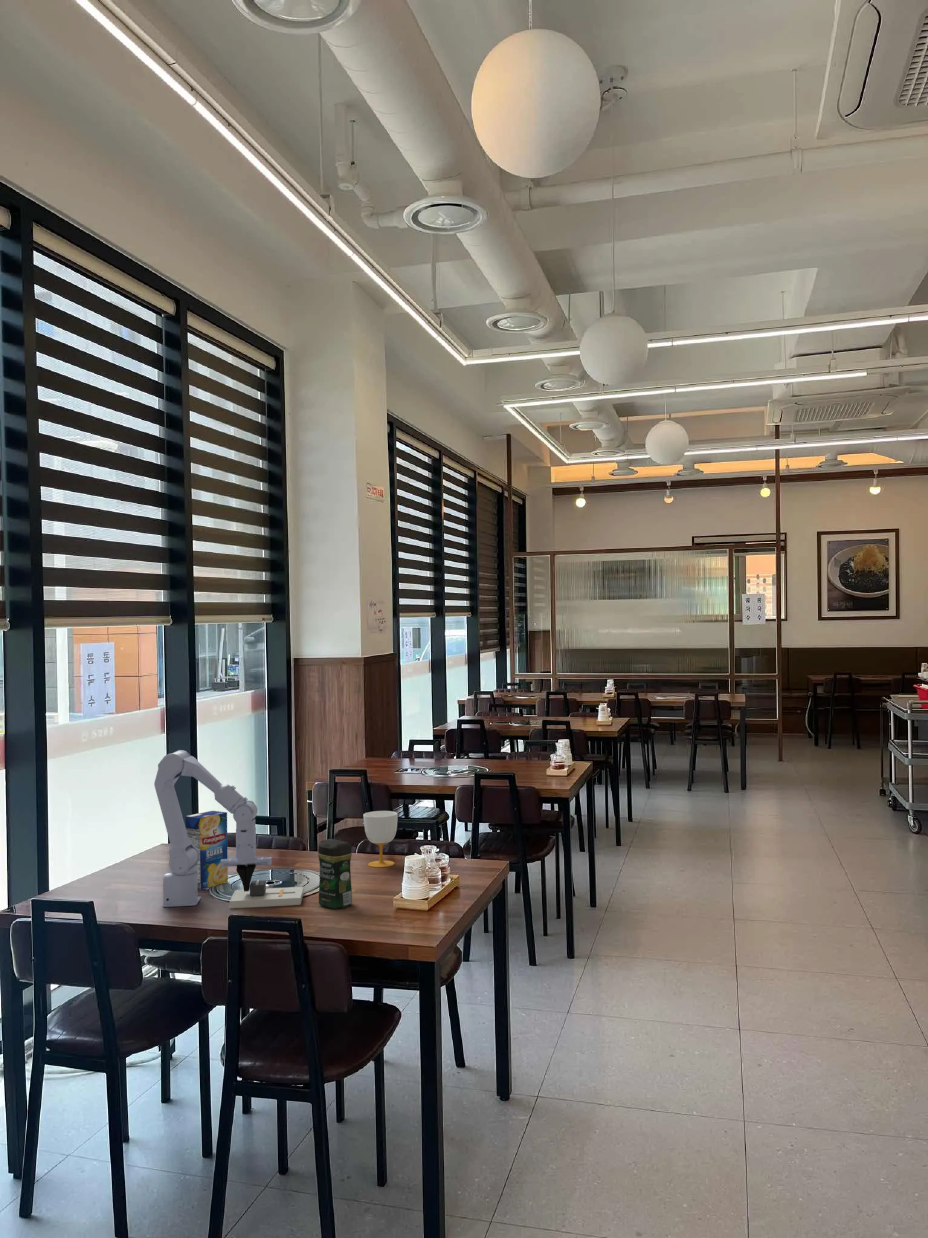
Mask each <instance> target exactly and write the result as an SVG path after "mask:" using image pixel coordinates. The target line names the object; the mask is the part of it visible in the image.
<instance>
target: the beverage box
mask: <svg viewBox="0 0 928 1238" xmlns="http://www.w3.org/2000/svg"><path fill="white" fill-rule="evenodd" d="M184 820H185V821H184V824H185V827H186V831H187V834H188V837H189V838H190V839H191V840H192V842H193V845H194V847H195V848H196V849H197V850H198V852H199V861H198V862H197V864H196V868H197V891H202V890H205V889H208V888H212V887H215V886H219V885H223V884H225V883H224V882H226V883H228V882H229V879H228V878H229V876H228V875H229V873H228V872H229V868H228V867H221V865H220V861H221V859H229V857H228V811H227V812H226V811H219V810H209V811H204V812H199V813H195V814H190V815H185V818H184ZM222 883H223V884H222Z"/></svg>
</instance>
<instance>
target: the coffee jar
mask: <svg viewBox="0 0 928 1238" xmlns="http://www.w3.org/2000/svg"><path fill="white" fill-rule="evenodd" d="M317 849H318V851H317V857H318V860H319V861H318V863H319V886H318V904H319V905H320V906H322V907H326V908H328V909H329V908H330V909H333V910H334V909H335V910H336V909H344V908H347V907H349V906H351V904H353V888H352V877H351V876H352V875H351V872H352V871H351V860H352V856H353V852H352V850H353V849H352V844H351V843H349V841H343V840H338V839H334V838H329V839H322V840H321V841H320V842H319V844H318V848H317Z"/></svg>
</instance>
